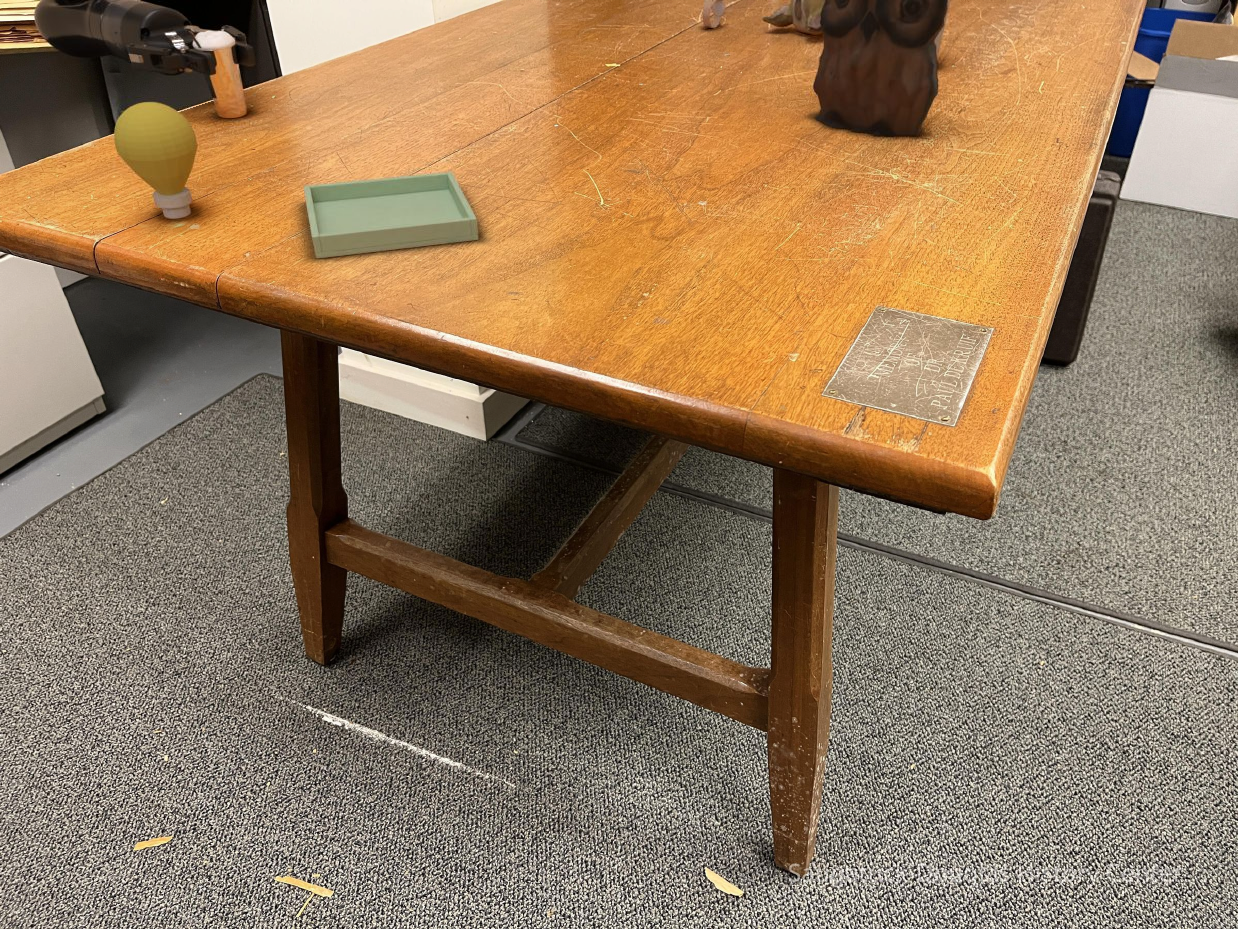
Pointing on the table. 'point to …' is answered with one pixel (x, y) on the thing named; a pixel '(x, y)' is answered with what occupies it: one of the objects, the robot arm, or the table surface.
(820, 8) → the ceramic sculpture
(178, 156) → the light bulb
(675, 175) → the table surface
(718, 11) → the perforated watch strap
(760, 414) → the table surface
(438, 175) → the tray
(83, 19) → the robot arm
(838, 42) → the owl
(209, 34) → the milkshake
